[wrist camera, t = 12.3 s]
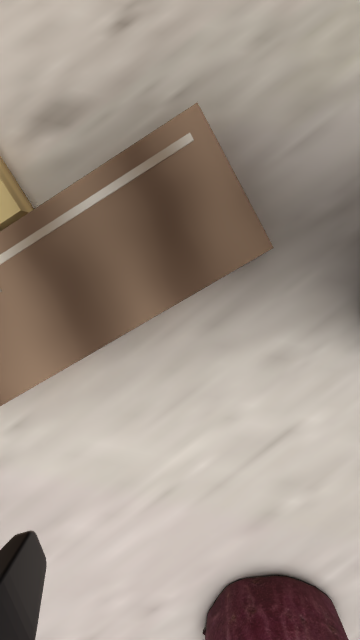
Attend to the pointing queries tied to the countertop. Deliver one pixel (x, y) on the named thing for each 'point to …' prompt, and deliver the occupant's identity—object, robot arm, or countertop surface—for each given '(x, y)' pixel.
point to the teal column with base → (11, 198)
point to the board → (120, 250)
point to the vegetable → (273, 612)
